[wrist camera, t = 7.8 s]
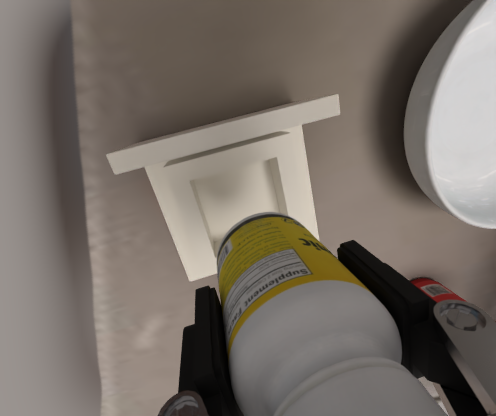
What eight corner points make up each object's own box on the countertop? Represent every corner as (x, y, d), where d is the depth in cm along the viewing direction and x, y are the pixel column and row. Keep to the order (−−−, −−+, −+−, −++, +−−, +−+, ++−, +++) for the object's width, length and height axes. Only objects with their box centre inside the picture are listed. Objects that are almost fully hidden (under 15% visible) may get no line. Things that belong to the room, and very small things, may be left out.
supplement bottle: (324, 264, 15) (512, 486, 6) (245, 309, 15) (312, 597, 6) (286, 189, 13) (484, 348, 4) (196, 241, 13) (185, 515, 4)
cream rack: (138, 142, 22) (105, 154, 14) (293, 102, 23) (338, 93, 15) (190, 274, 27) (186, 335, 19) (314, 236, 28) (356, 279, 20)
